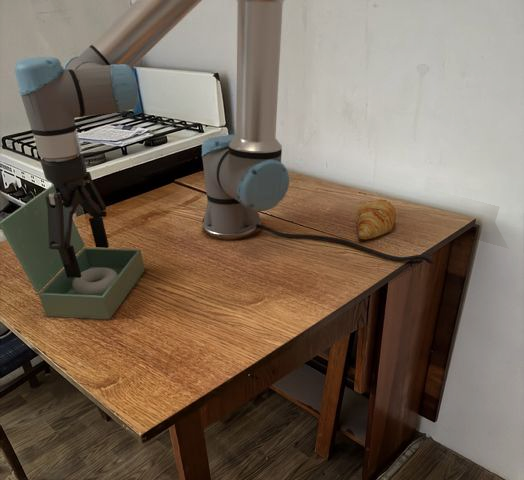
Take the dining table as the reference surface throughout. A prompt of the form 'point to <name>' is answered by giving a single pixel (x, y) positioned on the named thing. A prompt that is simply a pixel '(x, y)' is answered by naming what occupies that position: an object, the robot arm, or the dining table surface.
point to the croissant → (375, 219)
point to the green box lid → (36, 240)
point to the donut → (94, 281)
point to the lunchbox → (92, 306)
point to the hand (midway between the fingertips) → (89, 261)
